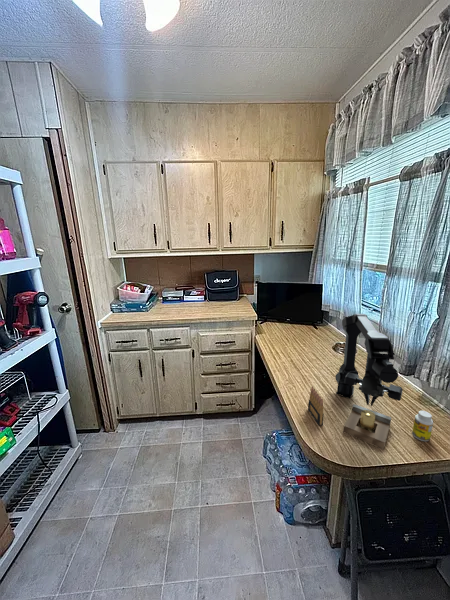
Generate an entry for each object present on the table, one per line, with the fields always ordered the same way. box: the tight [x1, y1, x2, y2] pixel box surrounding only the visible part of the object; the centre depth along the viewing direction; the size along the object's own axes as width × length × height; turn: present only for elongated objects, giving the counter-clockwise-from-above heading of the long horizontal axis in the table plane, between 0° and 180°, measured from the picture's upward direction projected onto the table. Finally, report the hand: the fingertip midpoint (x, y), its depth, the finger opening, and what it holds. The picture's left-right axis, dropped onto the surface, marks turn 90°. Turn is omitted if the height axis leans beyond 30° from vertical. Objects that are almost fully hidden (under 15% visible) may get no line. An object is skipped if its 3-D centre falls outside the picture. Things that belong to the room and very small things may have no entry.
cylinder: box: [359, 410, 375, 433], centre depth 102 cm, size 5×5×8 cm
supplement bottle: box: [411, 410, 434, 442], centre depth 98 cm, size 6×6×10 cm
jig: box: [342, 403, 392, 450], centre depth 103 cm, size 14×14×5 cm
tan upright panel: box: [307, 386, 325, 426], centre depth 110 cm, size 11×2×12 cm, turn 6°
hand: (369, 405), depth 100 cm, fingers closed
